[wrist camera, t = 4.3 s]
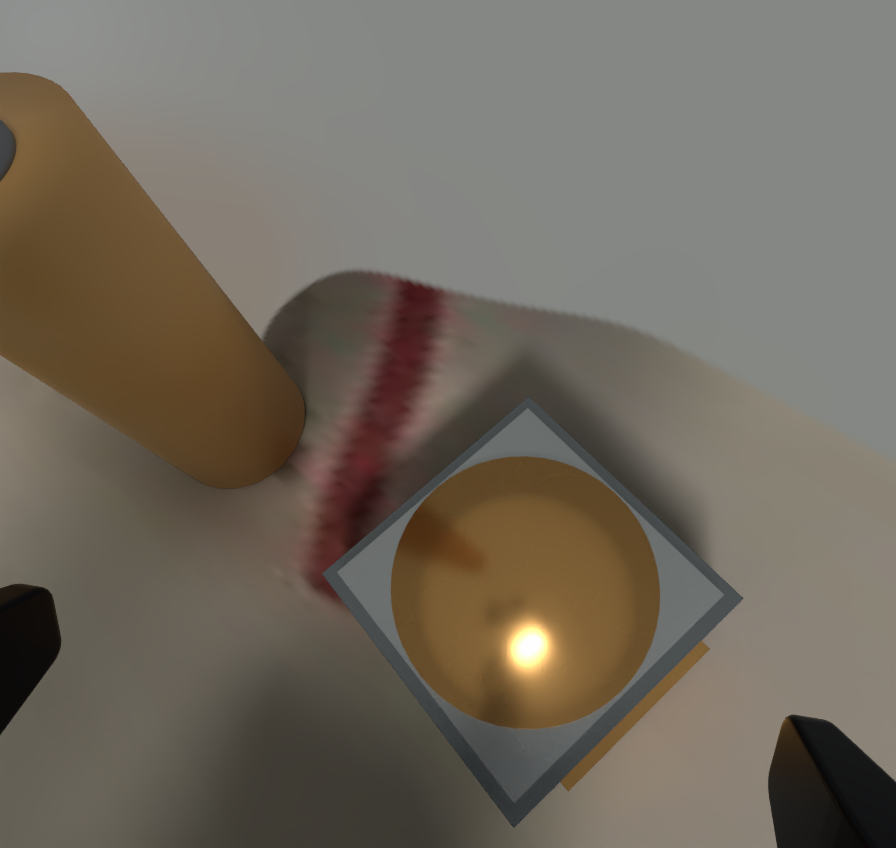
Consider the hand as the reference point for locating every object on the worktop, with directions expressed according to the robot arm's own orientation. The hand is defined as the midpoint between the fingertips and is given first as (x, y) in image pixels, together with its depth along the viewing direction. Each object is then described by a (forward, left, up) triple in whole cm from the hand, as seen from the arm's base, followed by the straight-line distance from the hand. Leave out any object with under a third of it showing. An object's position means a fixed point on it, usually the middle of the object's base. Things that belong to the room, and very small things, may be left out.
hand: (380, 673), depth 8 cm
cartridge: (-1, +13, -12) cm, 18 cm away
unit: (+3, +1, -12) cm, 13 cm away
